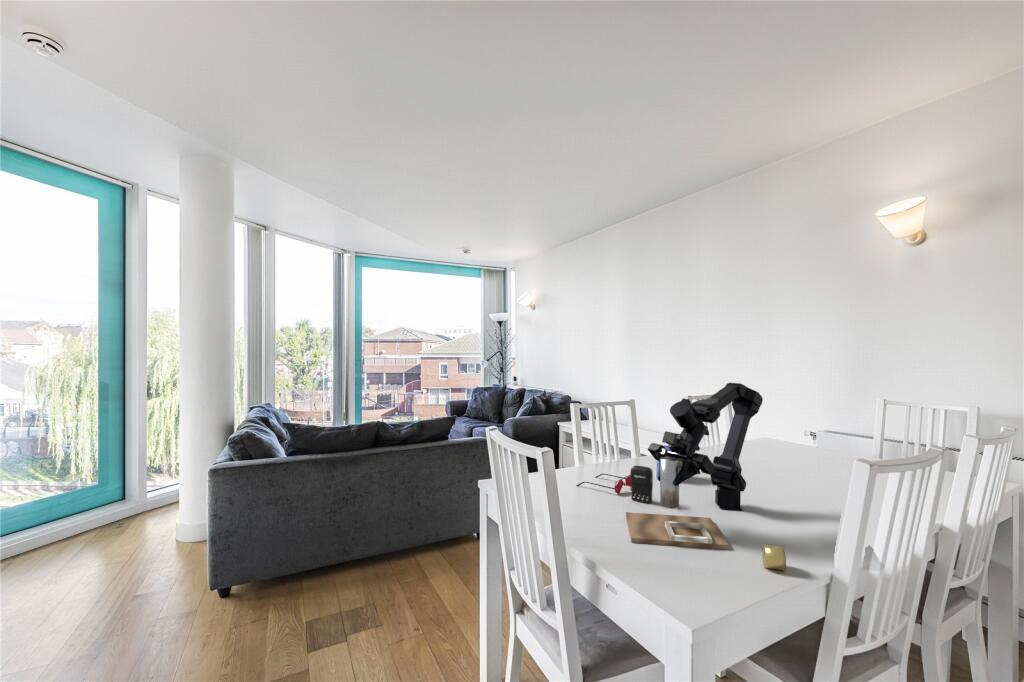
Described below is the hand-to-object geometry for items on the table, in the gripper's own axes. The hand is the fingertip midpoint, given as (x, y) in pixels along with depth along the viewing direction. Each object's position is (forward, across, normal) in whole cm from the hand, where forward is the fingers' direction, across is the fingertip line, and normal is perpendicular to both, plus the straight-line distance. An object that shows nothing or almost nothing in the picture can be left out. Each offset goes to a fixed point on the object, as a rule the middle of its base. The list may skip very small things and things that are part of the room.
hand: (666, 482), depth 128 cm
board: (+9, +2, +10) cm, 13 cm away
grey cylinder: (+4, 0, +6) cm, 7 cm away
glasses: (0, -36, +20) cm, 42 cm away
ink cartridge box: (-19, -29, +40) cm, 53 cm away
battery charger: (+1, -19, +18) cm, 26 cm away
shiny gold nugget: (+7, +26, +9) cm, 28 cm away
